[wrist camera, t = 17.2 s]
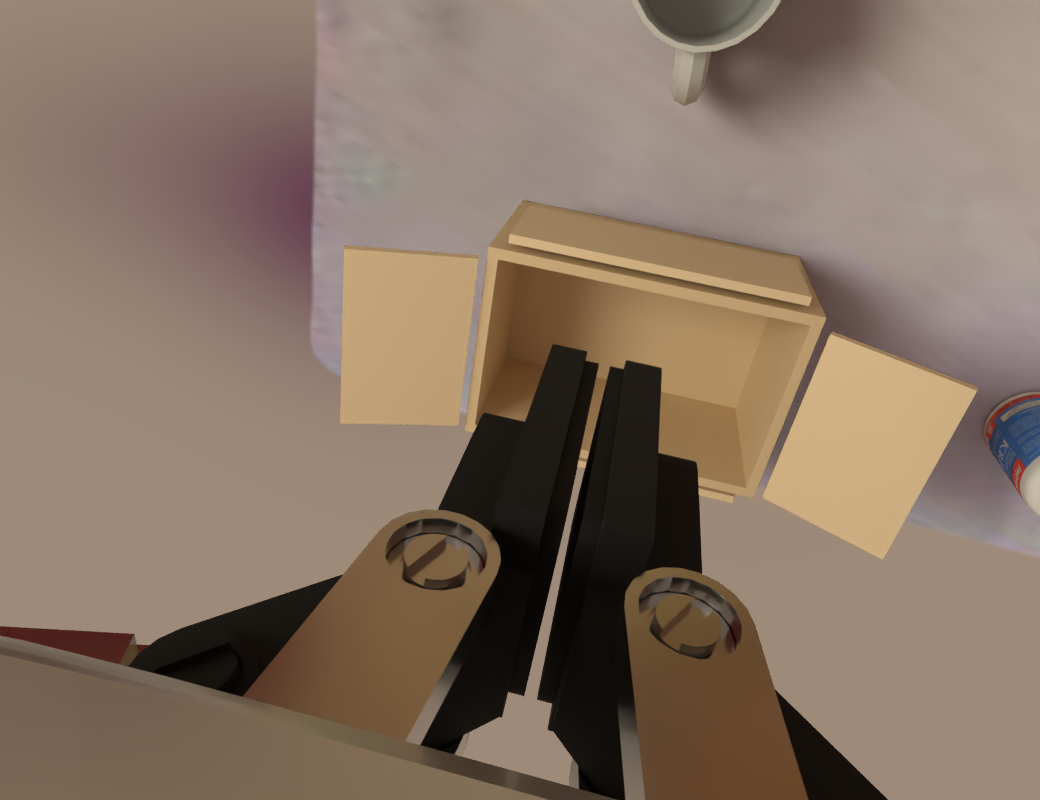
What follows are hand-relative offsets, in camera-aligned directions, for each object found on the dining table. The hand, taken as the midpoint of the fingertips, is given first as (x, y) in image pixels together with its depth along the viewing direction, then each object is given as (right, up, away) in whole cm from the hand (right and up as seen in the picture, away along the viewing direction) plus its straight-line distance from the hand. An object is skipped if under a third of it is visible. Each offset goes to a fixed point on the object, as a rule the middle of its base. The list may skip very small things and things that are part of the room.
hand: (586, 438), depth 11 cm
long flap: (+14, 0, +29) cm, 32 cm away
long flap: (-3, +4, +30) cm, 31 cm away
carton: (+7, +7, +38) cm, 39 cm away
